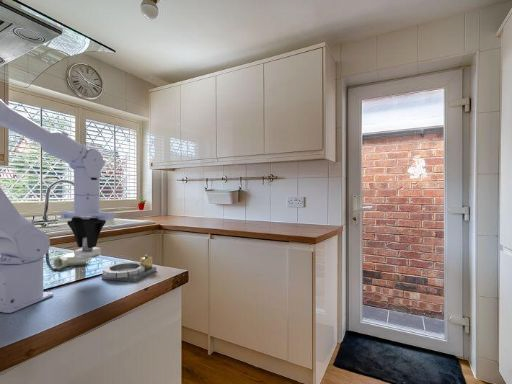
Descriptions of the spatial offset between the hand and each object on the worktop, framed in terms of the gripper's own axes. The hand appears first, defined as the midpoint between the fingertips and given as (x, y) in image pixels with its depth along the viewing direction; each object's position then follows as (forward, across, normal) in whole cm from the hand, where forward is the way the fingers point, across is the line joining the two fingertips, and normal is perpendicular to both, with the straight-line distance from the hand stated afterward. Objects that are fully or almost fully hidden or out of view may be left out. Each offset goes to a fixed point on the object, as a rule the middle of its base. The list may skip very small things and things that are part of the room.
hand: (87, 246), depth 73 cm
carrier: (+9, -8, -7) cm, 14 cm away
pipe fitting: (+9, +15, -11) cm, 21 cm away
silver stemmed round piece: (+2, 0, 0) cm, 2 cm away
